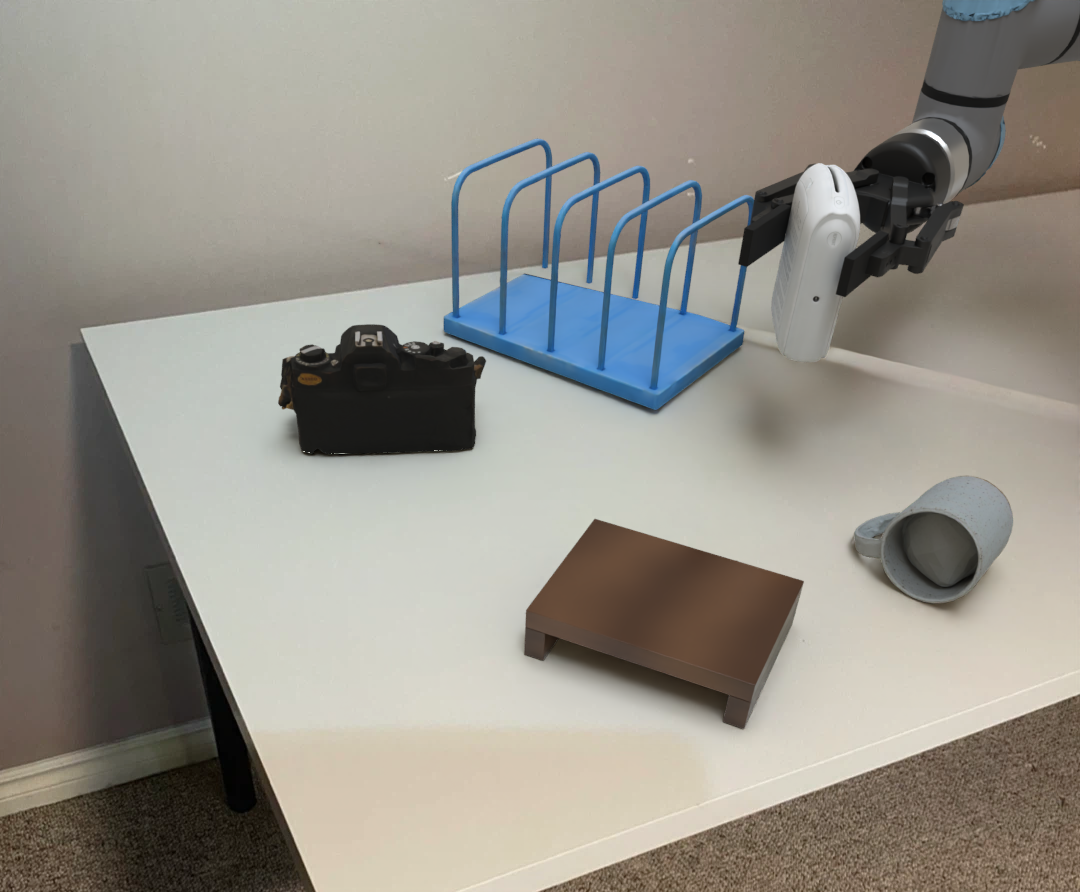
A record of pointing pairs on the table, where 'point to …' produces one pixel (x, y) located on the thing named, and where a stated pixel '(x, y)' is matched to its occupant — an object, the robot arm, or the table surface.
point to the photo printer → (814, 262)
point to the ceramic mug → (940, 539)
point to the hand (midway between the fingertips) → (794, 262)
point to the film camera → (381, 394)
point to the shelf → (668, 611)
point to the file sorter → (596, 302)
